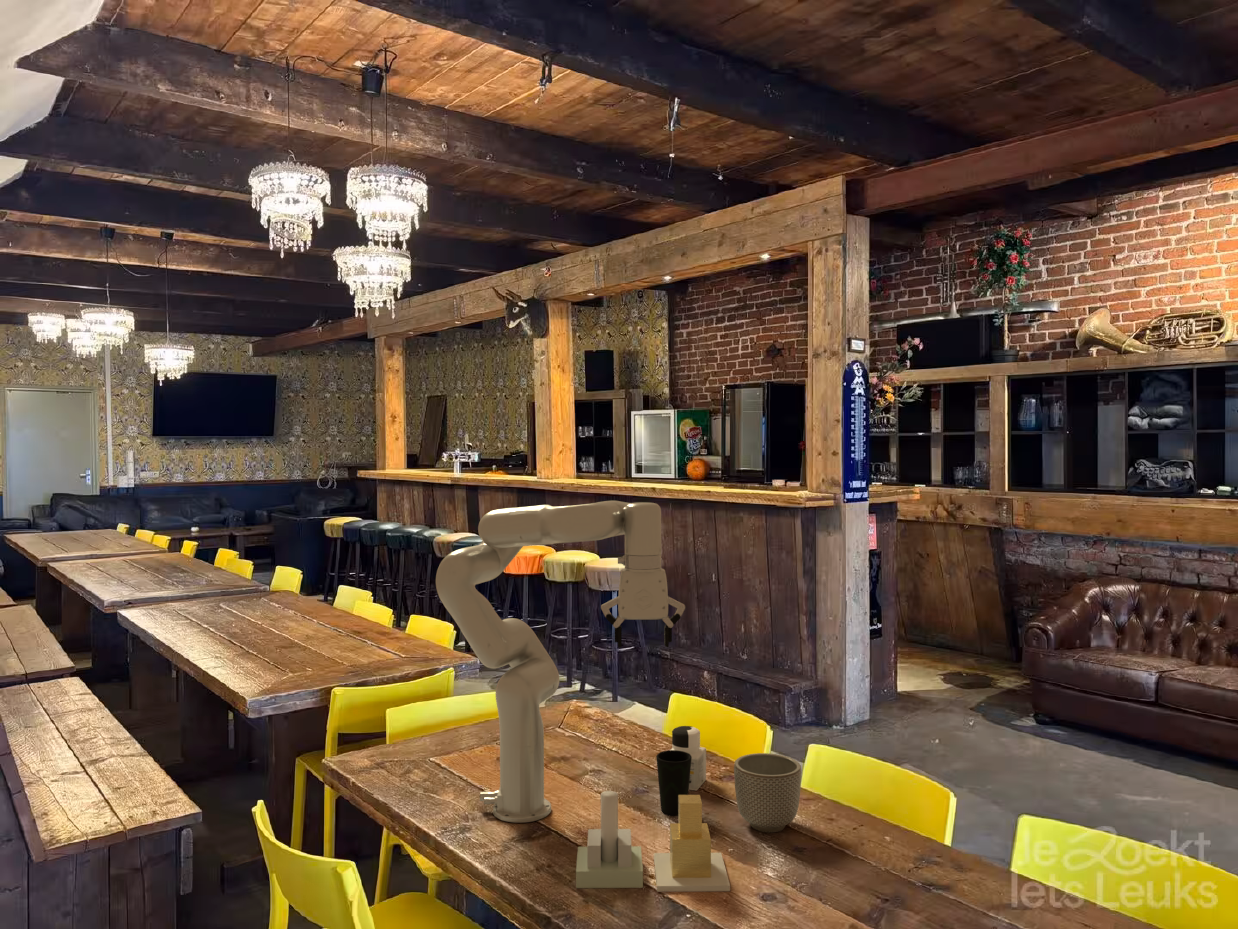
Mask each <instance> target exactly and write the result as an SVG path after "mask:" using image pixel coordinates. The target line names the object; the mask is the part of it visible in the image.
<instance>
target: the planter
mask: <svg viewBox="0 0 1238 929" xmlns="http://www.w3.org/2000/svg"><path fill="white" fill-rule="evenodd" d="M733 774H734V789H735V800H736V805H737V809H738V812H739V814H740V816H741V817H742V818H743V819H744V820H745V821H747V822H748V823H749V825H750V826H751V827H752V829H753V830H756V831H758V832H762V833H777V832H781V831H782V830H783V829H784V828H785V827H786V825H788V824H790V823H791V822H792V821H793V820H794V819H795V818H796V816H797V814H798V811H799V805H800V796H801V784H802V766H801V764H800V762H798V761H797V760H796V759H794V758H792V757H790V756H786V755H782V754H778V753H768V752H767V753H766V752H762V753H761V752H759V753H758V752H757V753H750V754H745V755H741V756H739V757H738V758H737V759H736V760H735V761H734V764H733Z"/></svg>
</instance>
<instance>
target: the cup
mask: <svg viewBox="0 0 1238 929" xmlns="http://www.w3.org/2000/svg"><path fill="white" fill-rule="evenodd" d="M655 758H656V768H657V769H656V770H657V779H658V788H659V789H658V792H659V801H660V811H662V812H663V813H664V814H663V813H662V812H661V813H662V814H663V815H666V816H669V815H670V816H671V817H678V795H689V791H690V790H689V781H690V770H691V759H692V757H691V755H690V754H689V753H687V752H684V751H678V750H671V749H669V750H663V751H660V752H658V753H657V754H656V757H655Z"/></svg>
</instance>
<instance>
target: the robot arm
mask: <svg viewBox="0 0 1238 929" xmlns="http://www.w3.org/2000/svg"><path fill="white" fill-rule="evenodd" d="M477 530H478V536H479V539H480V540H481V542H480V543H479V544H477V545H473V546H466V547H462V548H459V549H456V550H454V551H451V552H450V553H448V554H447V555H446V556H445V557H444V558H443V559H442V560H441V561H440V563H439V566H438V568H437V570H436V575H435V587H436V592H437V595H438V597H439V600H440V601H441V603H442V604H443V606H444V608H445V610H446V611H447V612H448V613H449V614H450V616H451V618H452V619H453V620H454V622H455V623H456V624H457V626H458V628H459V630H460V631H461V632H460V633H462V635H463V636H464V638H465V640H466V642H468V644H469V646H470V647H471V649H472V651H473V653H474V654H475V656H476V657H477V659H478V661H480V663H481V664H483V666H484V667H486V668H488V669H499V668H502V667H505V666H507V665H509V667H510V669H509V670H506V671H505V673H503V674H502V675H501V677H500V678H499V680H498V681H497V685H496V687H495V701H496V707H497V714H498V722H499V723H498V725H499V726H498V727H499V789H497V790H495V789H494V791H480V793H479V802H483V805H493V807H492V813H493V815H494V817H495V818H496V819H498V820H501V821H503V822H509V823H514V824H515V823H518V824H519V823H521V824H523V823H532V822H535V821H539V820H541V819H544V818H546V817H547V816H548V815H549V814H550V813H551V812H552V803H551V802H550V800H548V799H546V798H545V747H544V746H545V742H544V741H545V740H544V738H545V737H544V736H545V734H544V722H543V718H542V714H541V710H540V709H541V708H540V704H541V703H544V701H546V700H547V699H549V698H551V697H553V695H554V694H555V693H556V691H557V690H558V688H559V685H560V675H559V674H560V673H559V671H558V668H557V666H556V664H555V662H554V660H553V659H552V658H551V656H550V655H549V653H548V651H547V649H546V648H545V647H544V645H543V643H542V642H541V641H540V639H539V638H538V636H537V635H536V633H535V631H534V630H533V629H532V627H530V625H528V624H527V623H526V622H525V621H523V620H522V619H519V618H513V617H509V618H504V619H502V618H501V617H500V616H499V615H498V613H497V612H496V610H495V609H494V607H493V605H492V604H491V603H490V601H489V599H487V597H485V595H484V594H482V593H481V592H480V591H478V589H476V585H479V584H482V583H485V582H490V581H492V580H494V579H496V578H497V577H499V576H500V575H501V574H503V572H504V571H505V570H506V568H507V567H509V565H510V563H511V562H512V561H513V560H514V558H515V557H516V556H517V555H518V554H519V552H520V551H521V550H522V549H523V547H528V546H544V545H545V546H546V545H554V544H565V543H579V542H591V541H592V542H593V541H600V540H604V539H605V540H606V539H608V538H613V537H617V536H623V535H624V555H623V556H618V557H617V564H619V565H622V566H624V568H622V569H621V570H620V576H619V581H618V582H619V583H618V596H615V597H614V598H612V599H610V600H608V601H607V602H605V603H603V604H601V605H600V609H601V611H602V613H603V615H604V617H605V619H606V620H607V622H609V623H610V624H611V625H612V627H614V643H617V648H622V646H623V645H622V642H623V641H622V637H623V636H622V625H621V624H622V623H623V622H624V621H626V620H628V621H629V620H634V621H635V620H636V621H637V620H638V621H639V620H640V621H641V620H646V621H647V620H651V621H652V620H662V621H663V622H664V623H665V625H664V626H663V628H664V629H663V630H664V631H663V632H664V633H663V635H664V639H663V640H664V642H663V643H664V647H665V648H670V647H669V643H672V642H673V641H672V640H673V638H672V637H673V631H672V630H673V627H674V625H675V624H676V623H678V622H679V620H680V619H681V618H682V616H683V614H684V611H685V610H686V605H685V604H684V603H682V602H680V601H677V600H676V599H674V598H672V597H670V596H669V595H668V594H669V593H668V582H667V581H668V579H667V574H666V570H665V569H664V568H662V509H661V506H660V505H659V504H658V503H657V502H655V503H654V502H642V501H641V502H625V501H619V500H605V501H598V502H592V503H584V504H576V505H564V506H552V505H550V504H539V505H530V506H519V507H505V508H498V509H497V508H496V509H494V510H490V511H489V512H487V513H485V514H484V515H483V516H482V517H481V519H480V521H479V523H478V526H477ZM669 605H670V606H672V607H673V608H676V610H675V613H673V615H672V616H669ZM615 606H618V608H617V610H618V615H617V616H616V617H615V616H614V615H613V614H612V613H611V612H610V609H611V608H613V607H615Z"/></svg>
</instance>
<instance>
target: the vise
mask: <svg viewBox="0 0 1238 929" xmlns="http://www.w3.org/2000/svg"><path fill="white" fill-rule="evenodd" d="M587 830H588V831H587V845H586V846H578V847H577V853H576V854H577V855H576V869H575V888H576V889H620V888H622V889H625V888H626V889H632V888H633V889H634V888H638V889H639V888H640V889H641V888H644V867H643V858H642V857H643V855H642V846H641V845H640V846H639V845H638V846H637V845H636V846H635V845H634V846H633V845H632V832H631V831H632V830H631V828H619V793H618V792H617V791H614V790H613V791H612V790H606V791H605V790H604V791H602V792H601V793H600V828H592V829H591V828H589V829H587Z"/></svg>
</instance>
